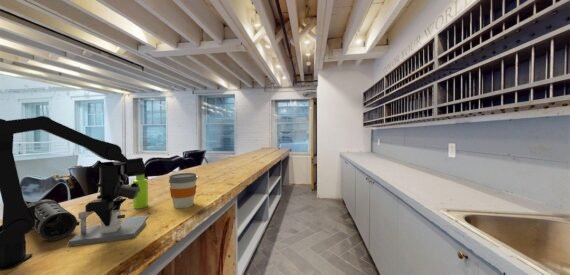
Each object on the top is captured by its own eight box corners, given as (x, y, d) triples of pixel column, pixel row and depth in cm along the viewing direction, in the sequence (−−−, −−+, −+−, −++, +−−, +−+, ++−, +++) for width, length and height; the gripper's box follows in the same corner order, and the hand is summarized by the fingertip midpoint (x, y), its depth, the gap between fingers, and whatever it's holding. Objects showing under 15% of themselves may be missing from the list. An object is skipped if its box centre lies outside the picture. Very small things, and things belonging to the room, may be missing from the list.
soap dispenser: (130, 209, 103) (129, 167, 103) (136, 205, 110) (135, 165, 109) (144, 208, 105) (144, 166, 104) (149, 204, 111) (148, 164, 111)
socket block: (134, 237, 74) (133, 218, 74) (68, 246, 69) (68, 225, 69) (145, 224, 86) (145, 207, 86) (90, 230, 81) (89, 212, 81)
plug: (122, 231, 76) (121, 212, 76) (100, 234, 75) (99, 215, 75) (127, 226, 81) (127, 208, 81) (106, 228, 79) (106, 210, 79)
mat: (142, 223, 86) (142, 222, 86) (118, 226, 84) (118, 225, 84) (148, 216, 94) (148, 215, 94) (127, 218, 92) (127, 217, 92)
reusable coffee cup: (197, 207, 105) (196, 176, 105) (167, 210, 101) (167, 178, 101) (197, 200, 117) (196, 172, 117) (170, 203, 112) (170, 174, 112)
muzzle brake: (78, 237, 77) (34, 244, 69) (58, 220, 93) (20, 224, 85) (84, 209, 79) (41, 213, 70) (63, 197, 94) (27, 199, 86)
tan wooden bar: (107, 205, 89) (107, 200, 89) (85, 218, 74) (85, 212, 74) (100, 205, 88) (100, 200, 88) (76, 219, 74) (76, 213, 74)
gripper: (125, 183, 71) (126, 231, 71) (145, 173, 89) (145, 211, 89) (83, 185, 68) (84, 235, 68) (112, 175, 85) (113, 215, 86)
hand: (111, 223), depth 78 cm, fingers closed on plug, 5 cm apart
